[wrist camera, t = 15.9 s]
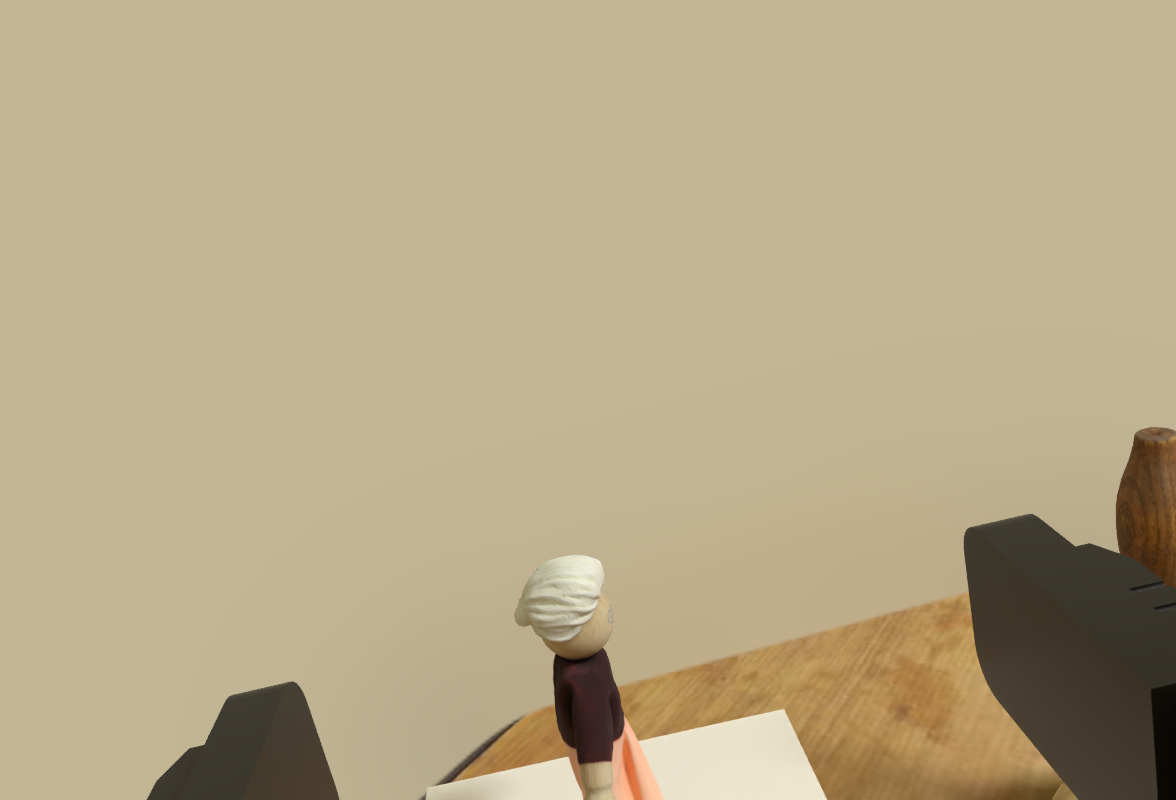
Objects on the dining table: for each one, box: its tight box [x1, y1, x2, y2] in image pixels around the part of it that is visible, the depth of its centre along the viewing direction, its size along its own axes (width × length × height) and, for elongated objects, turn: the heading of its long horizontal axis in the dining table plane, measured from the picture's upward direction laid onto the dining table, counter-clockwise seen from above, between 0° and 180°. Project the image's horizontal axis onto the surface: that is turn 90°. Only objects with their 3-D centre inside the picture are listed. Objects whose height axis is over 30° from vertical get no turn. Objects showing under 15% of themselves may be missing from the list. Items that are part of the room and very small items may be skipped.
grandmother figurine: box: [515, 555, 664, 800], centre depth 36 cm, size 8×4×13 cm, turn 16°
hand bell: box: [1052, 427, 1176, 800], centre depth 36 cm, size 8×8×16 cm
